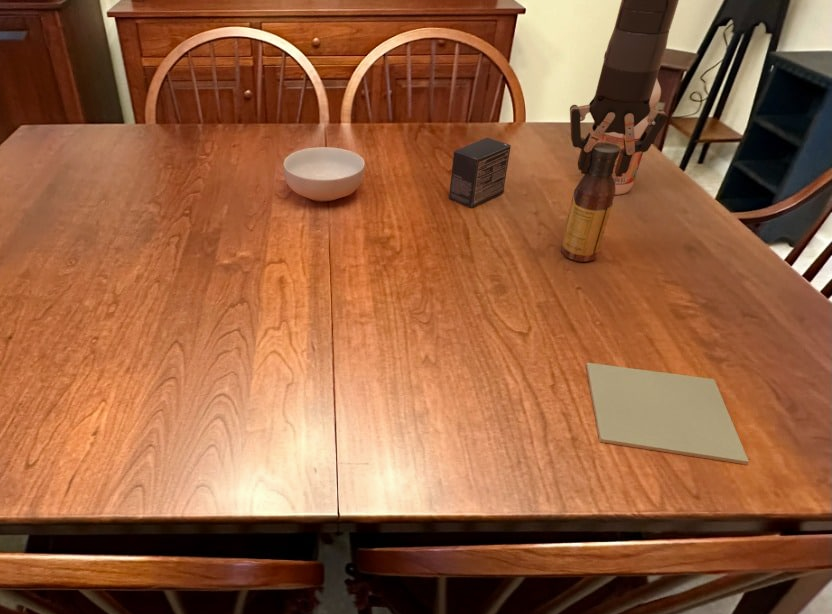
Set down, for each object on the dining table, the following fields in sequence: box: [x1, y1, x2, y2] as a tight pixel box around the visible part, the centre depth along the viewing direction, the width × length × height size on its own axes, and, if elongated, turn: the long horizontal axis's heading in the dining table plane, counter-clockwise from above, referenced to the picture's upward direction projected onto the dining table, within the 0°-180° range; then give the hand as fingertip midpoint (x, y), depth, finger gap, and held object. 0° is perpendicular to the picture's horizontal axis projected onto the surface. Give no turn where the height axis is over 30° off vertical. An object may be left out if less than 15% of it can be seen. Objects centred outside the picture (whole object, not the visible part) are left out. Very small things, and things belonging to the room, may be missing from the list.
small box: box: [448, 137, 512, 209], centre depth 122 cm, size 11×6×10 cm, turn 130°
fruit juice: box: [588, 78, 662, 196], centre depth 119 cm, size 9×9×28 cm
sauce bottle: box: [561, 142, 620, 263], centre depth 100 cm, size 7×6×20 cm
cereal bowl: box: [282, 146, 366, 203], centre depth 125 cm, size 17×17×7 cm
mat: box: [585, 362, 750, 465], centre depth 76 cm, size 16×14×1 cm
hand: (600, 172), depth 97 cm, fingers open, 4 cm apart
